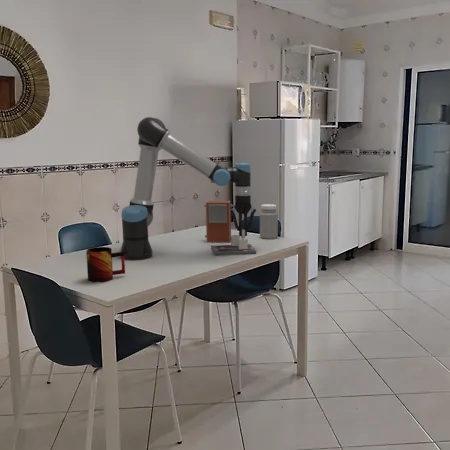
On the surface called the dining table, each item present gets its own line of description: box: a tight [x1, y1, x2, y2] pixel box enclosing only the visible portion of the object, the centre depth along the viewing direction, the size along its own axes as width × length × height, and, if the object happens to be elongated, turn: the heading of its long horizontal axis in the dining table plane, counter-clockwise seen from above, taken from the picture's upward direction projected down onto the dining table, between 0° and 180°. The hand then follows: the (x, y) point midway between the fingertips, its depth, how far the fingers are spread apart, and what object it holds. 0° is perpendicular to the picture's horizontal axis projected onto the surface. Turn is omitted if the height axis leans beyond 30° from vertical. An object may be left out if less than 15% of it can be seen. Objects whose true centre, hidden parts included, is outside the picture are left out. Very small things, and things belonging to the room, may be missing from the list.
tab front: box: [238, 237, 249, 250], centre depth 248 cm, size 4×4×5 cm
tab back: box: [230, 234, 241, 246], centre depth 255 cm, size 4×4×5 cm
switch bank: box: [210, 243, 257, 257], centre depth 252 cm, size 20×16×2 cm
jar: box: [259, 203, 279, 240], centre depth 283 cm, size 10×10×18 cm
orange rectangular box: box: [204, 200, 234, 243], centre depth 274 cm, size 21×7×15 cm
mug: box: [85, 246, 126, 283], centre depth 206 cm, size 10×14×12 cm
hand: (243, 242), depth 256 cm, fingers closed
